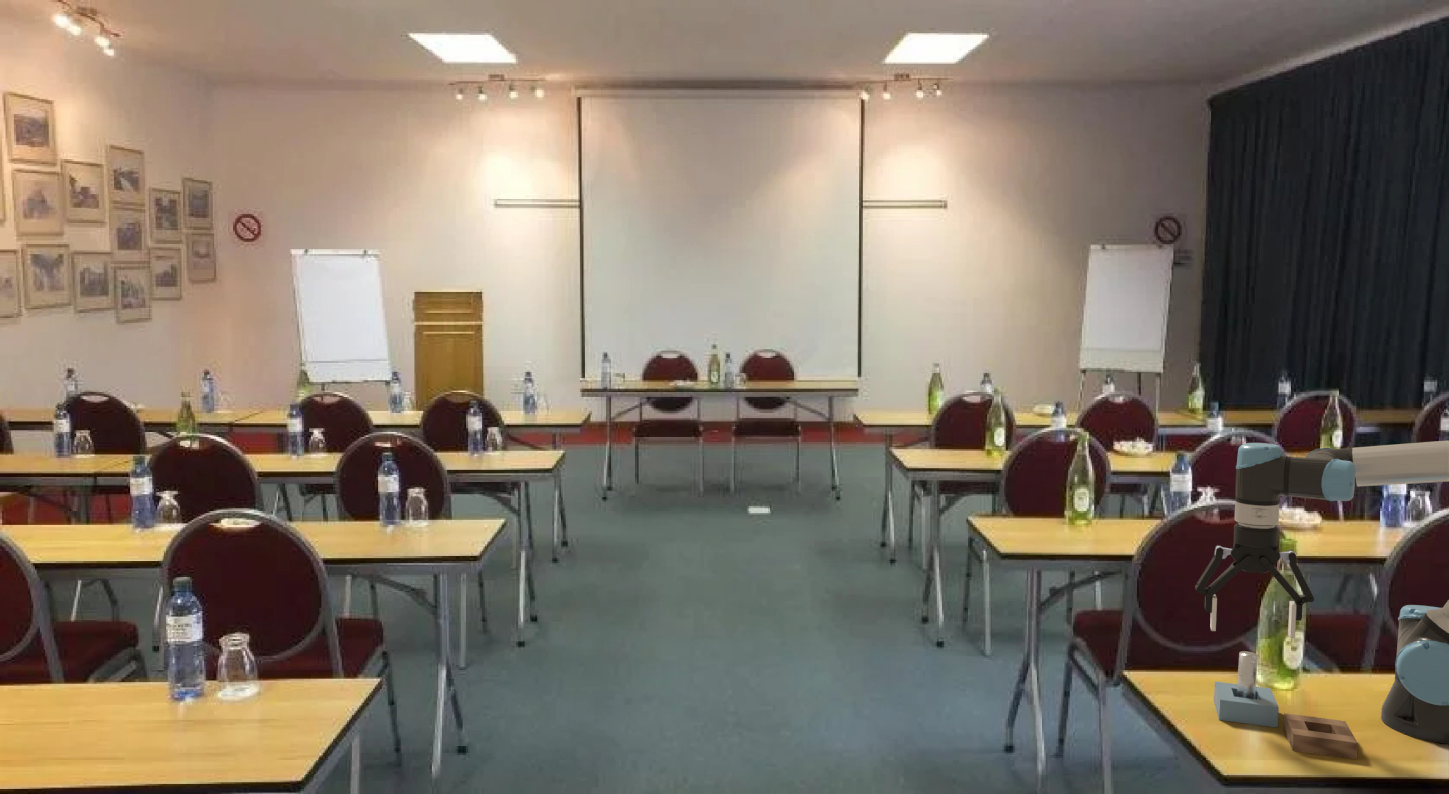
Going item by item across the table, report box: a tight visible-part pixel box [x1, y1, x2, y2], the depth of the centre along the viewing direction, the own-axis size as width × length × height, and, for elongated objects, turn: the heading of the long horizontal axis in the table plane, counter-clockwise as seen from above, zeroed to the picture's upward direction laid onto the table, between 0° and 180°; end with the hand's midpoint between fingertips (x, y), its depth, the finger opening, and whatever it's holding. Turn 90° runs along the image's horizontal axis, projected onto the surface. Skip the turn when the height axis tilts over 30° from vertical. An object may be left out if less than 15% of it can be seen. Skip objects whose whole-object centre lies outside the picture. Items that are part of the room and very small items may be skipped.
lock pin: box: [1236, 650, 1259, 699], centre depth 200 cm, size 3×3×12 cm
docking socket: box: [1213, 681, 1280, 728], centre depth 201 cm, size 10×10×4 cm
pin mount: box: [1283, 712, 1359, 760], centre depth 188 cm, size 10×10×3 cm
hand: (1251, 632), depth 199 cm, fingers open, 13 cm apart
